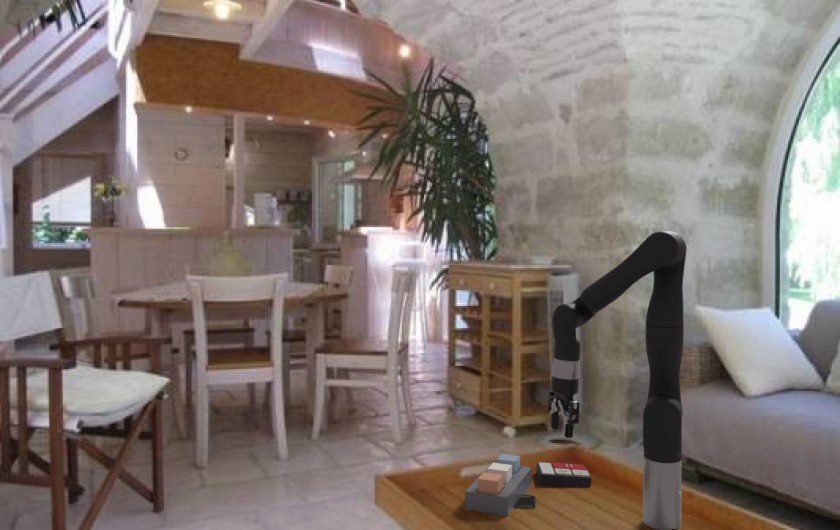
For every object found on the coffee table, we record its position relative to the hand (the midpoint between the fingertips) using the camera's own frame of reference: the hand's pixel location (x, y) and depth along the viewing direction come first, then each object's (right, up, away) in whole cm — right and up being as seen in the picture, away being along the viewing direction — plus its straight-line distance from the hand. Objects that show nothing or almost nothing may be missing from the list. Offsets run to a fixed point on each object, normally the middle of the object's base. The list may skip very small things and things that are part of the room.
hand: (561, 432), depth 197 cm
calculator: (+4, -19, +19) cm, 28 cm away
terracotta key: (-20, -15, -3) cm, 25 cm away
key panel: (-16, -19, +6) cm, 26 cm away
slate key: (-13, -14, +14) cm, 24 cm away
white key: (-16, -15, +5) cm, 23 cm away
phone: (-14, -20, +1) cm, 25 cm away
